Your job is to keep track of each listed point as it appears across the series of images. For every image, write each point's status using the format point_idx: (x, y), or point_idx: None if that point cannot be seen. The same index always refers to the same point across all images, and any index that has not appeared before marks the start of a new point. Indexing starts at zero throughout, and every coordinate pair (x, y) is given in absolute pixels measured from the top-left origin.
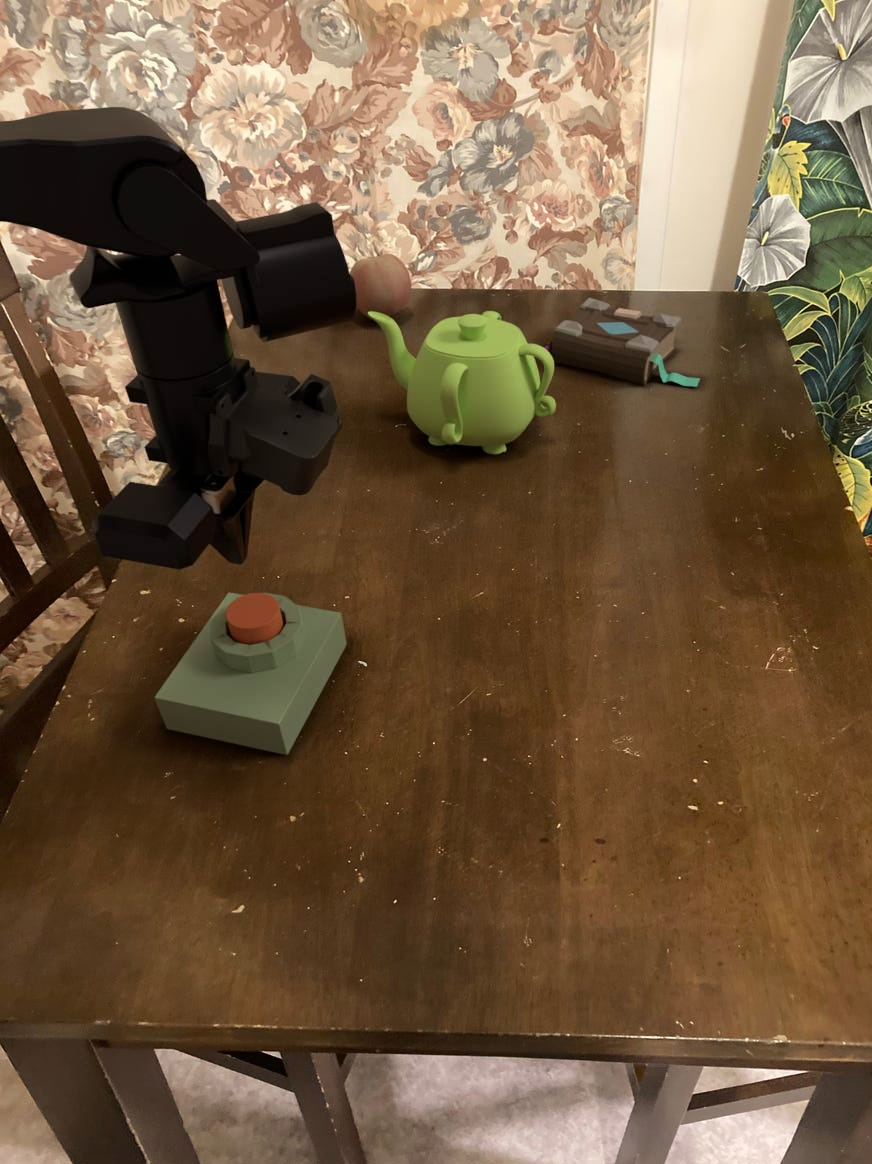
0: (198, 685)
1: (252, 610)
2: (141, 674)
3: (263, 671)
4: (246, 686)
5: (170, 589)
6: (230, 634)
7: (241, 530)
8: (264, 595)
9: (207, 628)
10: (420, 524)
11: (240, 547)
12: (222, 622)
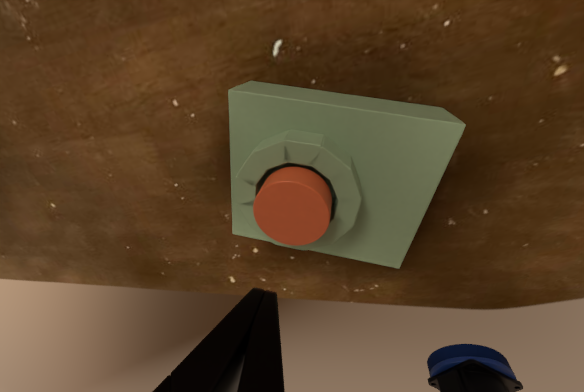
0: (381, 234)
1: (290, 215)
2: (323, 265)
3: (357, 170)
4: (385, 184)
5: (223, 264)
6: None
7: (240, 388)
8: (257, 206)
9: None
10: (17, 35)
11: (267, 338)
12: None
